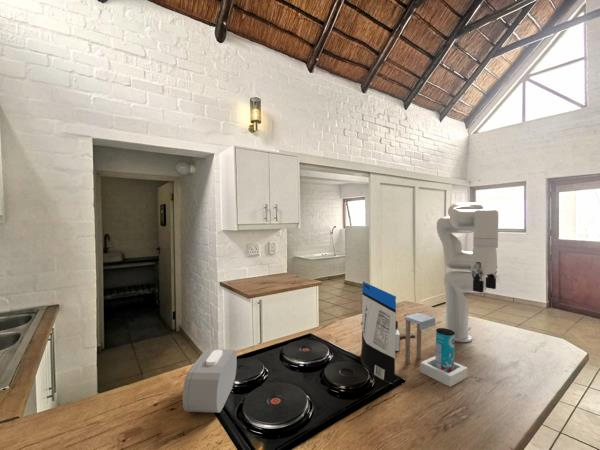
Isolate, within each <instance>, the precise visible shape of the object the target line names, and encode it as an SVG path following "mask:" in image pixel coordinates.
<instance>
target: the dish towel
mask: <svg viewBox="0 0 600 450" xmlns="http://www.w3.org/2000/svg"><path fill="white" fill-rule="evenodd" d="M361 324H362V321H361ZM398 331H399V334H400V340H406V328H404V327H403V326H401V325H400V324H398ZM411 338H412V339H413V338H414V339H415V338H416V335H414V334H413V333H411V332H410V339H411Z"/></svg>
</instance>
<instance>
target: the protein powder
mask: <svg viewBox="0 0 600 450" xmlns="http://www.w3.org/2000/svg"><path fill="white" fill-rule="evenodd" d="M361 299H362V303H361V304H362V306H361V307H362V308H361V309H362V311H361V312H362V314H361V316H362V317H361V319H362V320H361V322H362V323H361V324H362V327H361V328H362V329H361V333H362V334H361V353H360V358H361V359H360V362H361V363H362V364H361V363H360V364H361V366H362V365H363V366H364V367H366V368H367V369H368V370H369V372H370V374H369V375H371V376H372V375H373V376H372V377H374V378H376V379H377V378H378V379H377V380H379V379H380V380H379V381H381V380H383V381H387V382H391V383H393V384H394V386H395V387H396V379H395V378H396V376H395V375H396V371H395V368H396V367H395V366H396V364H395V363H396V351H395V330H396V321H397V318H396V317H397V316H396V314H397V301H396V300H397V296H396V295H393V294H391V293H389V292H387V291H385V290H383V289H380V288H378V287H377V286H374V285H373V284H369V283H367V282H365V281H362V298H361ZM363 366H362V367H363ZM383 381H382V382H383ZM394 386H393V387H394Z"/></svg>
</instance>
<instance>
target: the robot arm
mask: <svg viewBox="0 0 600 450" xmlns="http://www.w3.org/2000/svg"><path fill="white" fill-rule="evenodd" d="M447 215H448V216H442V217H440V218H438V219H437V221H436V231H437V236H438V237H439V240H440V241H441V244H442V249H443V255H444V256H443V257H444V263H445V266H446V268H447V269H449V270H450V271H448V272H446V273H445V274H444V277H443V281H444V282H443V283H444V288H445V329H449V330H452V331H453V332H454V333H455V334H454V342H457V343H470V342H471V341H472V340H473V337H472V335H470V334H469V331H471V330H472V327H471V326H469V306H470V305H469V300H468V298H467V297H466V296H465V294H464V293H475V294H479V293H481V294H482V293H485V292H486V291H487V289H491V290H496V288H497V272H498V271H497V269H498V255H497V254H498V253H497V249H498V248H499V211H498V210H496V209H491V208H489V209H488V208H487V209H486V208H484V207H483V205H482V204H481V203H479V202H455V203H452V204H451V205H449V207H448V209H447ZM472 233H473V235H472V236H473V237H472V239H473V241H472V242H473V243H472V244H473V245H472V247H473V249H472V251H468V250H467V251H466V250H464V249H463V246H462V245H463V244H462V242H461V241H460V239H459V238H458V237H457V236H456V235H454V234H472ZM451 270H452V271H451Z"/></svg>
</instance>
